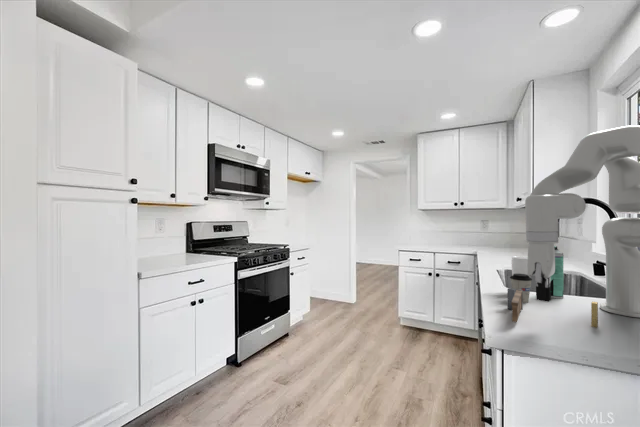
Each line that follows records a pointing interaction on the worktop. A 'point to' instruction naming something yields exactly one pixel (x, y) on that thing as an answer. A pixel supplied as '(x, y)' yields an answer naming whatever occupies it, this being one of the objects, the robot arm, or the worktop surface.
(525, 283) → the coffee cup
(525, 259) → the white cylinder
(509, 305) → the hinge post
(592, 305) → the post
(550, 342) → the worktop surface
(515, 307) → the gate leaf
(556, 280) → the spray can
